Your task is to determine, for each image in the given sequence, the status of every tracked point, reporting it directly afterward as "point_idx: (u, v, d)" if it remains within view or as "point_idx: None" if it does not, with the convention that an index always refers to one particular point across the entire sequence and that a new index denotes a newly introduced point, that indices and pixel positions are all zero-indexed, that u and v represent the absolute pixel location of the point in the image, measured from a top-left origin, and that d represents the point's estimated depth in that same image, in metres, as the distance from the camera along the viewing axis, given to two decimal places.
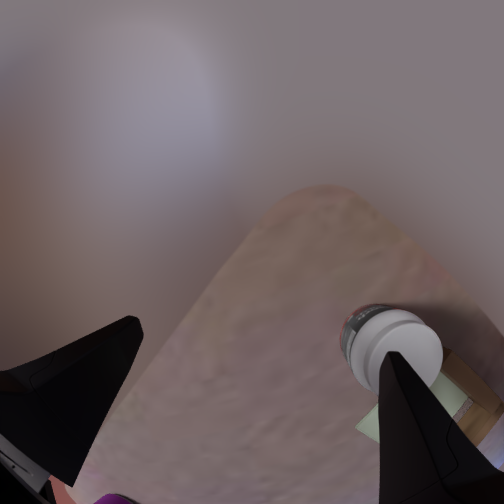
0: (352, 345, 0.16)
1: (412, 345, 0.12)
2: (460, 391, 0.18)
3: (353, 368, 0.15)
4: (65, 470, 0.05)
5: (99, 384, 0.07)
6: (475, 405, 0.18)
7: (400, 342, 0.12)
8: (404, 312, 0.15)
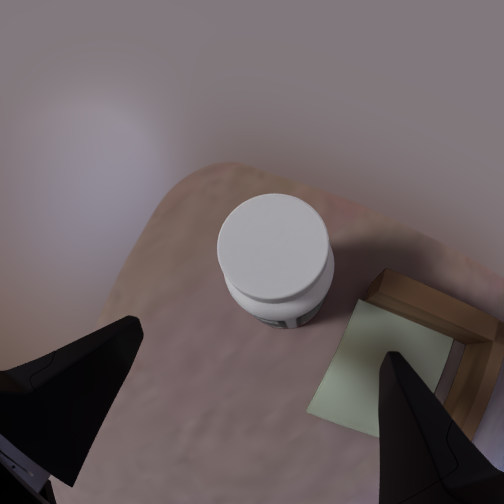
0: None
1: (269, 217, 0.12)
2: (438, 334, 0.17)
3: (229, 290, 0.14)
4: (65, 470, 0.05)
5: (99, 384, 0.07)
6: (468, 346, 0.16)
7: (251, 217, 0.12)
8: None
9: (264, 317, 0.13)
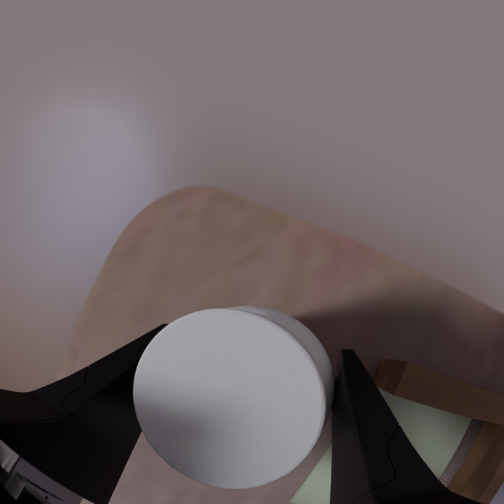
0: None
1: (216, 361, 0.06)
2: (456, 414, 0.11)
3: None
4: (99, 492, 0.05)
5: None
6: (487, 422, 0.10)
7: (183, 356, 0.06)
8: (242, 307, 0.09)
9: None
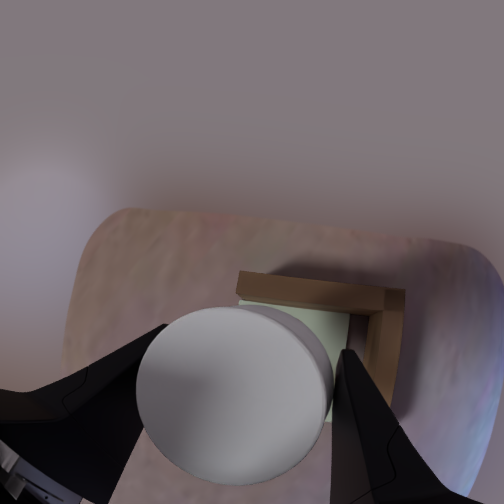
0: None
1: (219, 358, 0.06)
2: (330, 313, 0.21)
3: None
4: (99, 492, 0.05)
5: None
6: (370, 317, 0.20)
7: (186, 354, 0.06)
8: (242, 306, 0.09)
9: None
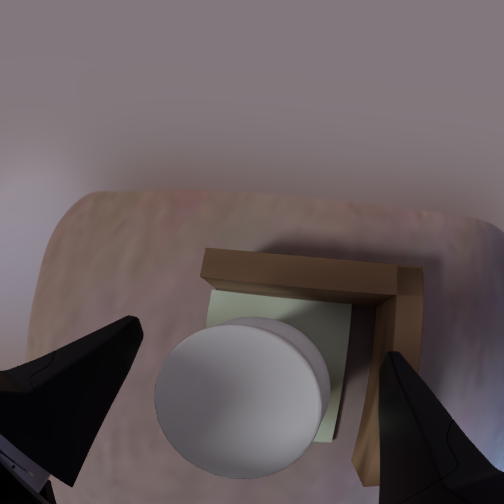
0: None
1: (229, 369, 0.07)
2: (326, 304, 0.16)
3: None
4: (65, 470, 0.05)
5: (99, 384, 0.07)
6: (378, 308, 0.16)
7: (200, 365, 0.07)
8: (247, 318, 0.10)
9: None
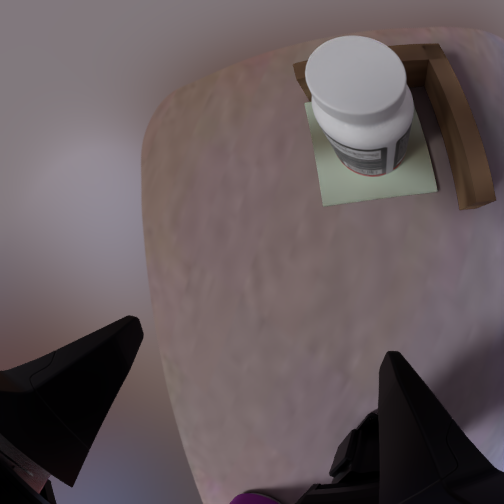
0: (315, 116, 0.13)
1: (343, 54, 0.10)
2: None
3: (329, 132, 0.13)
4: (65, 470, 0.05)
5: (99, 384, 0.07)
6: (425, 85, 0.15)
7: (327, 58, 0.10)
8: None
9: (369, 146, 0.12)
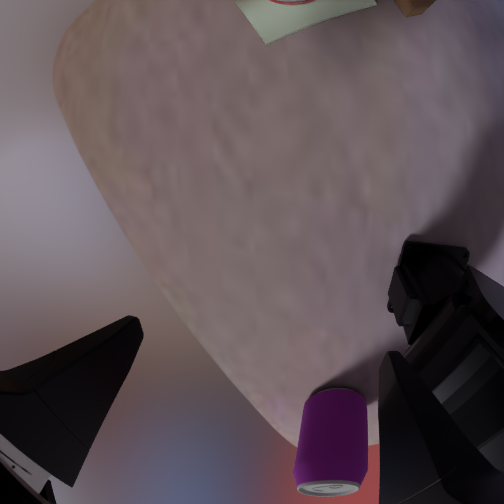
0: None
1: None
2: None
3: None
4: (65, 470, 0.05)
5: (99, 384, 0.07)
6: None
7: None
8: None
9: None
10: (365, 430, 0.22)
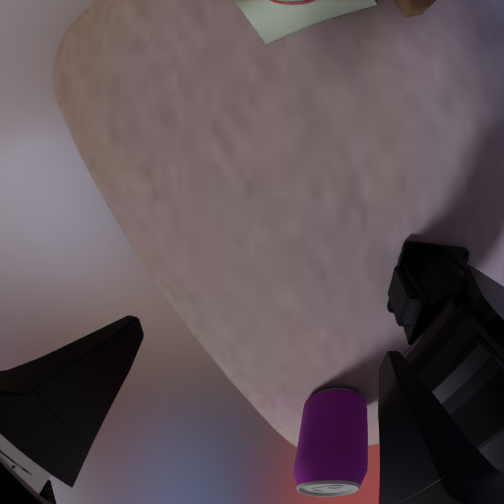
0: None
1: None
2: None
3: None
4: (65, 470, 0.05)
5: (99, 384, 0.07)
6: None
7: None
8: None
9: None
10: (365, 430, 0.22)
